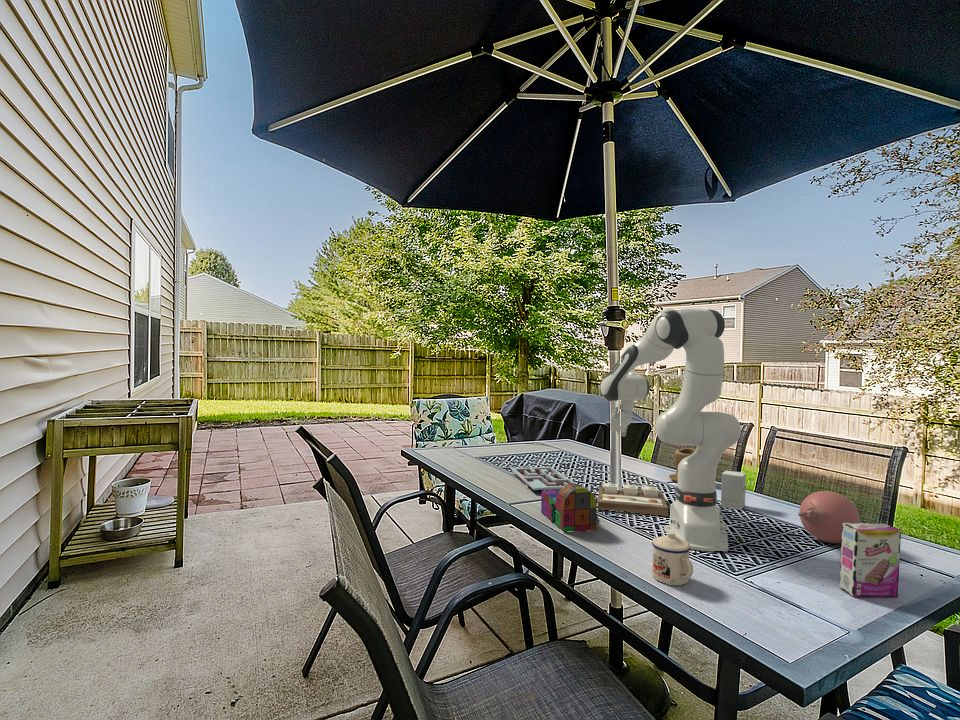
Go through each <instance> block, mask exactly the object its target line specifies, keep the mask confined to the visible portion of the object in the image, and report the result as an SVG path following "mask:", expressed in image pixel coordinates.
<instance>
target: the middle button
mask: <svg viewBox="0 0 960 720" xmlns="http://www.w3.org/2000/svg"><path fill="white" fill-rule="evenodd" d="M623 489H624V495H635V496H638V490H639V489H638V485H636V484H635V485H634V484H623Z"/></svg>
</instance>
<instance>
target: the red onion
mask: <svg viewBox="0 0 960 720" xmlns="http://www.w3.org/2000/svg"><path fill="white" fill-rule="evenodd" d="M799 507H800V508H799V512H798V513H797V516H799V518H800V519H799V520H800V522H801V524H802V526H803V528H804V529H805V530H806V531H807V532H808V534H810V535H811V536H812V537H814V538H815V539H818V540H819V541H822V542H824V543H829V544H841V541H842V523H861V515H860V512H859V510H858V509H857V507H856V505H855V504H854V503H853V502H852V501H851V500H850V499H848V498H847V497H846V496H844V495H842V494H841V493H838V492H834V491H830V490H819V491H815V492H812V493H810V494H809V495H807V496H806V497H805V498H804V499H803V500H802V502H801V503H800V506H799Z"/></svg>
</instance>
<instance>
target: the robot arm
mask: <svg viewBox="0 0 960 720" xmlns="http://www.w3.org/2000/svg"><path fill="white" fill-rule="evenodd" d="M725 327H726V326H725V319H724V317H723V315H722V314H721V312H719V311H718V310H715V309H710V308H702V309H699V308H698V309H697V308H696V309H695V308H683V309H677V310H676V309H673V308H672V309H671V308H666V309H663V310H660V311H659V312H658V313H657V314H656V316H654V318H653V319H652V320H651V322H650V324H649V325H648V327H647V329H646V331H645V333H644V334H643V335H642V336H641V337H640V339H638V340H637V341H636V342H635V343H634V344H632V345H630V346H629V347H628V348H626V349H625V351H624V352H623V353H622V355H621V356H620V357H621V364H620V358H619V359H618V360H617V362H616V363H615V364H614V366H613V367H612V368H611V370H610V371H609V372H608V373H607V374H606V375H605V376H604V377H603V378H602V380H601V382H600V385H599V391H600V394H601V396H602V397H603V398H604V399H605V400H607V402H611V401H617V400H621V404H620V409H621V426H620V411H619V413H617V412H618V407H616V408H615V411H614V410H613V411H614V413H611V417H610V431H612V432H613V433H614V434H615V431H617V432H618V433H617V434H619V441H618V442H620V440H621V438H622V437H623V438H625V437H626V436H627V430H628V426H629V425H632V424H631V423H632V419H633V413H634V412H633V411H634V408H635V406H636V405H635V404H636V402H635V401H641V400H644V399H646V398H647V397H648V396H649V393H650V391H651V390H650V389H651V386H650V382H649V380H648V378H647V377H646V376H643V375H641V374H639V373H638V372H637V371H636V368H637V367H639V366H642V365H645V364H652V363H658V362H661V361H664V360H666V359H667V358H668V357H669V356H670V355H671V354H672V353H673V352H674V350H679V349H681V348H683V350H684V351H685V354H686V356H685V363H684V370H683V371H684V373H683V379H682V386H681V390H680V393H679V396H678V397H677V399H676V400H675V402H674V403H673V404H672V405H671V406H670V407H669V408H668V409H667V410H665V411H663V412H662V413H660V414H659V416H658V417H657V418H656V421H655V424H654V425H655V427H654V429H655V434H656V436H657V438H658V439H659V440H660V441H661V442H662V443H665V444H669V445H673V446H687V447H690V446H691V447H696V448H695V451H694V453H693V454H692V455H690V456H688V457H686V458H684V459H682V460H681V462H680V463H679V465H678V482H677V486H676V487H675V498H676V499H675V501H674V502H672V503H670V510H669V511H670V513H669V514H670V515H669V525H668V524H667V525H664V526H663V530H664V532H665V533H666V534H667V533H668V532H673V533H675V536H676V537H678V538H679V539H682V540H684V541H686V542H687V543H688V544H689V546H690V550H696V551H702V552H703V551H704V552H714V551H723V552H728V551H729V540H728V533H727V531H726V530H727V522H724V515H723V514H721V508H720V507H719V506H718V505H717V503H718V495H717V490H716V478H717V477H716V476H717V468H718V464H719V462H720V460H721V458H722V456H723V455H724V453H726V451H727V450H728V449H729V448H731V447H732V446H733V445H735V444H736V443H737V442H738V441H739V439H740V437H741V434H742V427H741V424H740V422H739V420H738V419H737V417H736V416H735V415H733V414H730V413H727V412H720V411H702V410H703V409H704V408H705V407H706V406H708V405H710V404H712V403H713V402H716V401H717V400H718V399H719V398H720V396H721V394H722V390H723V389H722V387H723V381H724V380H723V379H724V372H725V371H724V370H725V349H724V343H723V341H722V340H721V338H720V337H722V335H723V333H724V331H725ZM615 419H616V420H615ZM722 520H723V522H722Z"/></svg>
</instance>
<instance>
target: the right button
mask: <svg viewBox="0 0 960 720" xmlns="http://www.w3.org/2000/svg"><path fill="white" fill-rule="evenodd" d="M643 490H644V492H643V494H644V496H648V497H658V491H659V489H658V486H648V485H647V486H646V485H643Z"/></svg>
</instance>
